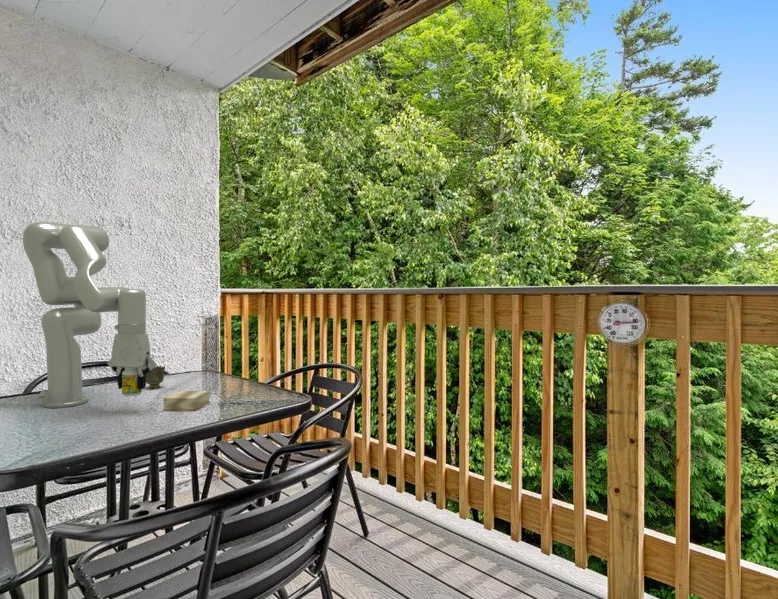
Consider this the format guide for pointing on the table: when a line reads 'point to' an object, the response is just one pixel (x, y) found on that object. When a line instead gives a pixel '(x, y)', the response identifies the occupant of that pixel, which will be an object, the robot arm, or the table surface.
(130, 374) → the supplement bottle
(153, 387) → the cup
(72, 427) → the table surface
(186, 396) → the base block
